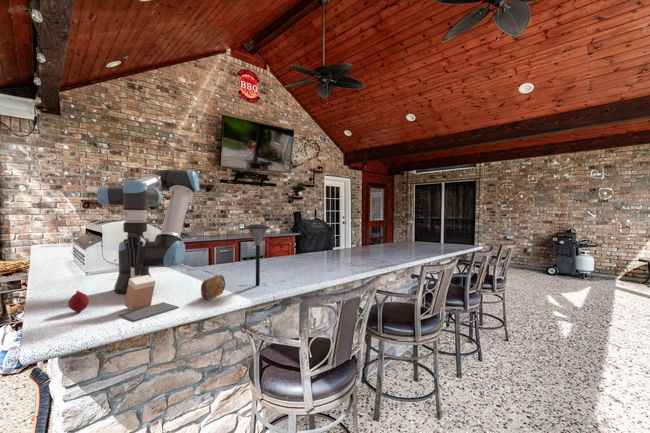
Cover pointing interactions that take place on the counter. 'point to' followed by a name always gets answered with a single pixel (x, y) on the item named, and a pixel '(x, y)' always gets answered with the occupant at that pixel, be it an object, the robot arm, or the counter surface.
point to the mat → (148, 311)
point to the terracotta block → (139, 292)
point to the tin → (212, 287)
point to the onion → (78, 302)
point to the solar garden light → (257, 244)
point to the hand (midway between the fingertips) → (135, 283)
